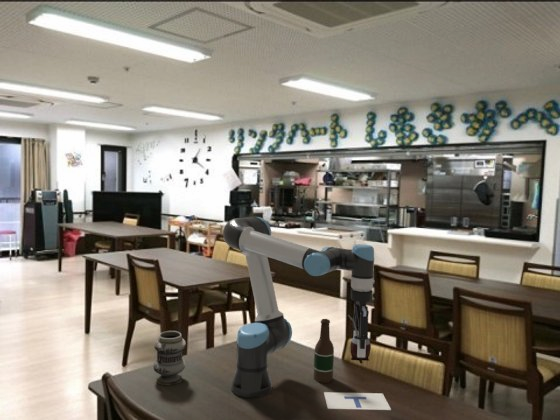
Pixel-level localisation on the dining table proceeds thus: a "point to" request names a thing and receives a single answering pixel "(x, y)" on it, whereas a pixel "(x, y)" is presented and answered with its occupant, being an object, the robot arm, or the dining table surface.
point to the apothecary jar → (169, 357)
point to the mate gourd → (355, 346)
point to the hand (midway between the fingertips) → (359, 352)
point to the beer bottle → (324, 355)
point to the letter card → (356, 401)
